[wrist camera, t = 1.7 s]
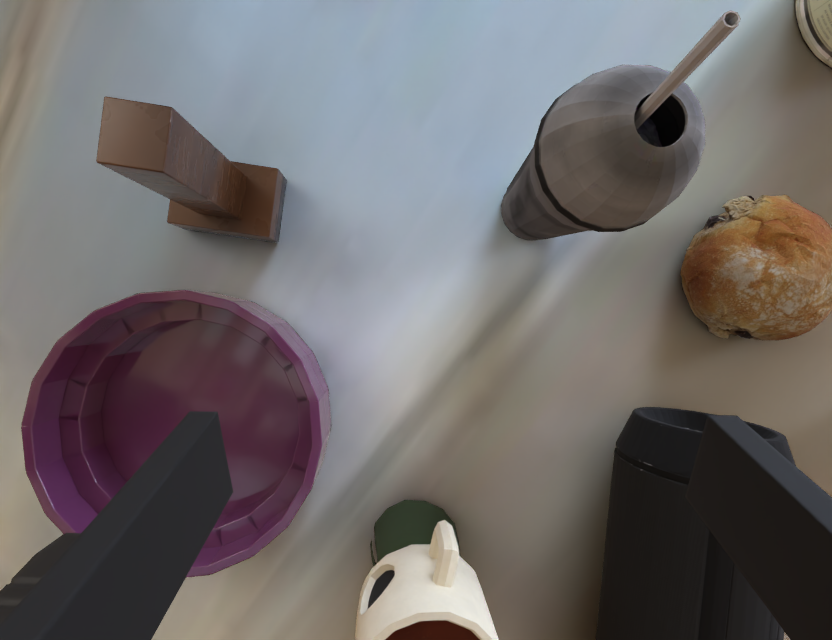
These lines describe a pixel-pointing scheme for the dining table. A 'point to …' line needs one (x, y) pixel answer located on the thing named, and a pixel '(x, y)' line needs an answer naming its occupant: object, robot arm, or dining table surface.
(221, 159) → the wooden stamp
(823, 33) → the coffee can
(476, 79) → the dining table surface
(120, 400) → the bowl
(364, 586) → the character mug
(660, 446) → the portable speaker
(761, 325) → the bread roll
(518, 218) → the beverage cup
